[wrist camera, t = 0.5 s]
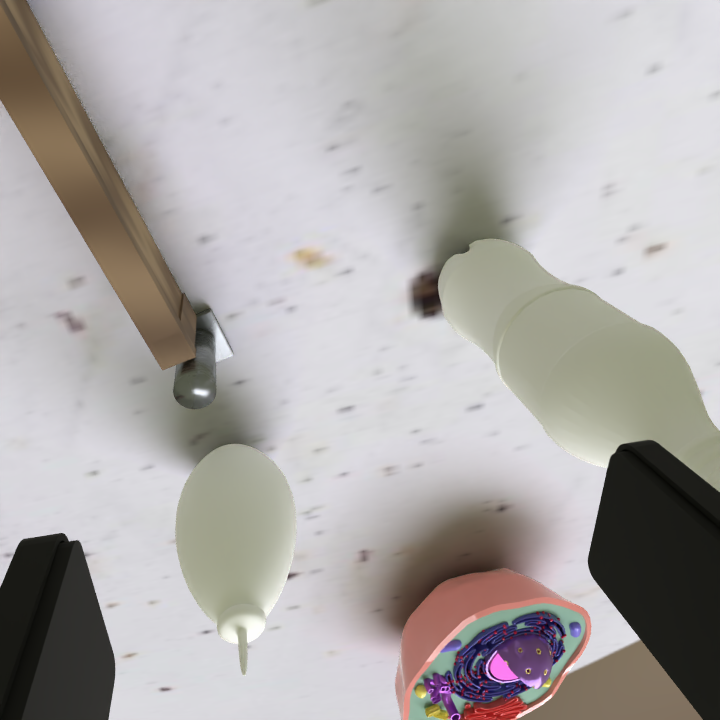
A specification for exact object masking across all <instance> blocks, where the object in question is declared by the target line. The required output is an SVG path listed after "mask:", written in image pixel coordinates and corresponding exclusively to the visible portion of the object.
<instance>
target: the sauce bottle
mask: <svg viewBox="0 0 720 720" xmlns="http://www.w3.org/2000/svg"><path fill="white" fill-rule="evenodd" d="M296 530H297V527H296V512H295V504H294V499H293V495H292V492H291V489H290V487H289V484H288V482H287V480H286V478H285V476H284V474H283V473H282V471H281V470H280V469H279V467H278V466H277V465H276V464H275V462H274V461H272V460H271V459H270V458H269V457H268V456H266V455H265V454H264V453H262V452H261V451H259V450H257V449H255V448H253V447H250V446H247V445H242V444H228V445H224V446H221V447H218V448H217V449H215V450H213V451H211V452H210V453H209V454H208V455H207V456H205V457H204V458H203V459H202V460H201V461H200V462H199V463H198V465H197V466H196V467H195V468H194V469H193V471H192V473H191V474H190V476H189V478H188V479H187V481H186V483H185V485H184V488H183V490H182V493H181V496H180V499H179V503H178V507H177V514H176V527H175V537H176V547H177V553H178V557H179V562H180V566H181V569H182V573H183V576H184V578H185V581H186V583H187V585H188V588H189V590H190V592H191V593H192V595H193V597H194V599H195V600H196V602H197V604H198V605H199V607H200V608H201V609H202V611H203V612H204V613H205V614H206V616H207V617H209V618H210V619H211V620H212V621H213V622H214V623H215V624H217V630H218V634H219V635H220V637H221V638H222V639H223V640H225V641H227V642H230V643H234V644H238V647H239V658H240V666H241V671H242V674H243V675H244V676H245V675H246V671H247V643H248V642H251V641H252V640H254V639H256V638H257V637H258V636H259V635H260V634H261V633H262V632H263V630H264V628H265V625H266V617H267V615H268V614H269V613H270V611H271V610H272V608H273V607H274V605H275V604H276V602H277V600H278V598H279V596H280V594H281V592H282V590H283V587H284V585H285V582H286V580H287V577H288V574H289V571H290V567H291V563H292V559H293V554H294V549H295V542H296Z"/></svg>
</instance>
